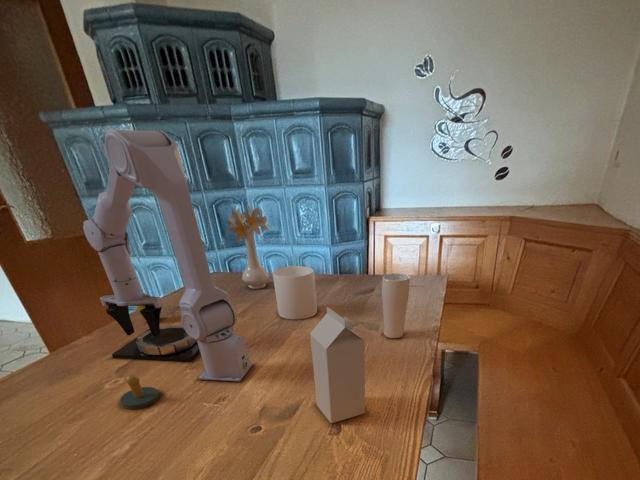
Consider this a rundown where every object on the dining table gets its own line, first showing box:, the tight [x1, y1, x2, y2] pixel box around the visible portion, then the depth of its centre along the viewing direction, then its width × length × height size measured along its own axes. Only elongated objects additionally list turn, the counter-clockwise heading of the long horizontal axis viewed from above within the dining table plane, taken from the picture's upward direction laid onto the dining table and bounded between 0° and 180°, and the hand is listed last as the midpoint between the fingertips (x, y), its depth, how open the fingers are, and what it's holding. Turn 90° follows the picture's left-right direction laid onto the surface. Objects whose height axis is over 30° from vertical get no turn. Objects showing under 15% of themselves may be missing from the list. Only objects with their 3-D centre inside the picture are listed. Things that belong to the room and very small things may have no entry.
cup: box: [272, 265, 318, 321], centre depth 113 cm, size 12×12×12 cm
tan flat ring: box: [136, 324, 197, 355], centre depth 96 cm, size 13×13×2 cm
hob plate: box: [111, 328, 201, 363], centre depth 98 cm, size 20×16×1 cm
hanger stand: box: [119, 374, 160, 410], centre depth 76 cm, size 7×7×6 cm
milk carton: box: [309, 306, 366, 424], centre depth 68 cm, size 7×7×19 cm
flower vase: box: [226, 204, 270, 290], centre depth 130 cm, size 13×18×25 cm
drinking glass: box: [381, 272, 411, 339], centre depth 98 cm, size 7×7×15 cm
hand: (143, 334), depth 96 cm, fingers open, 6 cm apart
